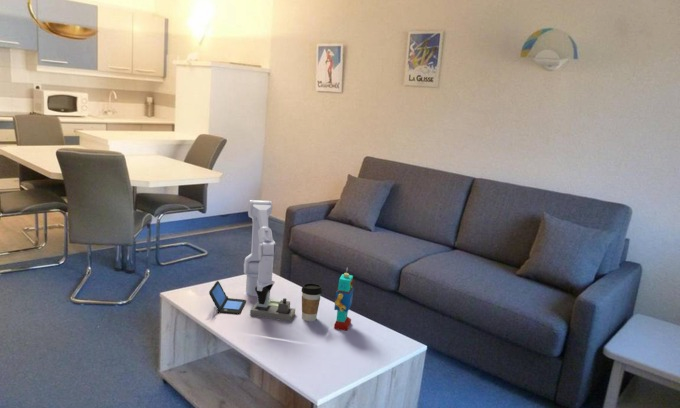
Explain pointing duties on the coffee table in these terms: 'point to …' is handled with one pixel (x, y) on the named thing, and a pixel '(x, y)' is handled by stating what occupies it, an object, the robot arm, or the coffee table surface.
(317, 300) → the coffee cup
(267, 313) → the power strip
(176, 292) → the coffee table surface
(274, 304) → the tray
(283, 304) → the twin plug
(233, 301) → the handheld game console
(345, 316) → the toy robot
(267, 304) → the plug
